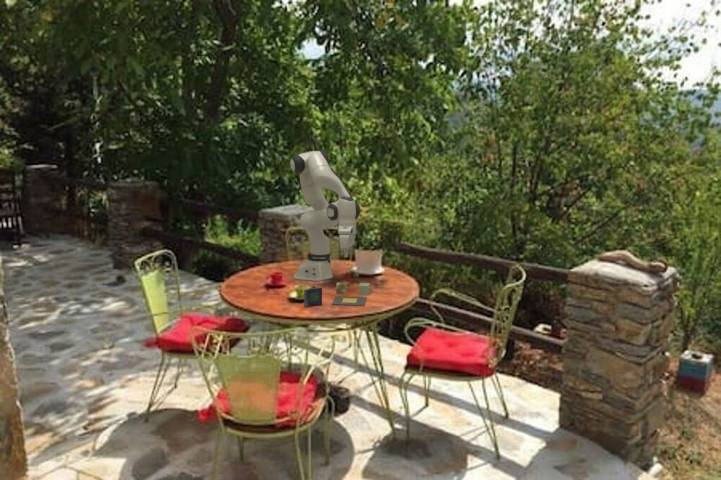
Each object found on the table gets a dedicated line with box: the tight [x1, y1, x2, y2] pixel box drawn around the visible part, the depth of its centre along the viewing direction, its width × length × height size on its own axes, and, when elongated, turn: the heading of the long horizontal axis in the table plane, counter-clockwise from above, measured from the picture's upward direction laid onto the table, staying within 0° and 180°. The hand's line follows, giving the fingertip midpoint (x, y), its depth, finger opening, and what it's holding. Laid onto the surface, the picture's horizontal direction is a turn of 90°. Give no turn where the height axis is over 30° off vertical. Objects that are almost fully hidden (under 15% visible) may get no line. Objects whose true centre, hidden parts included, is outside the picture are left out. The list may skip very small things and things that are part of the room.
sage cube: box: [358, 282, 370, 296], centre depth 305 cm, size 5×5×5 cm
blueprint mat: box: [331, 295, 368, 307], centre depth 291 cm, size 16×13×1 cm
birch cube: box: [335, 281, 348, 295], centre depth 306 cm, size 5×5×5 cm
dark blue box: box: [303, 283, 323, 308], centre depth 284 cm, size 9×3×11 cm, turn 117°
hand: (347, 255), depth 299 cm, fingers open, 8 cm apart
